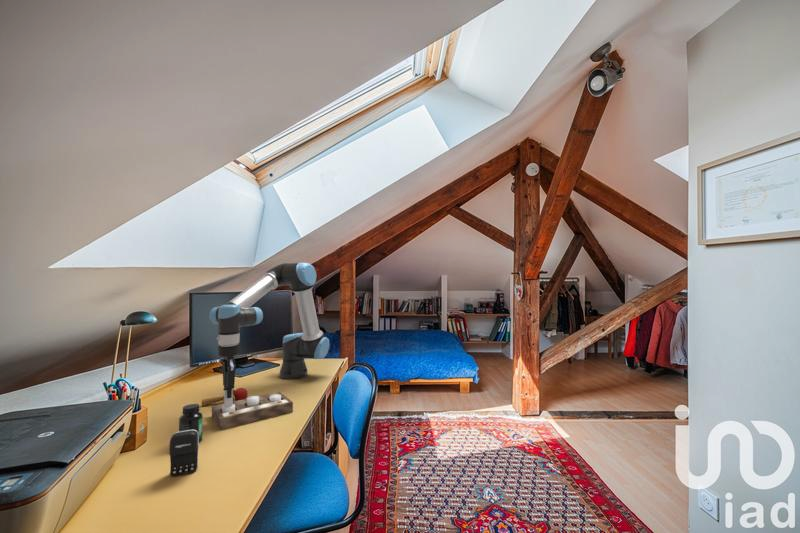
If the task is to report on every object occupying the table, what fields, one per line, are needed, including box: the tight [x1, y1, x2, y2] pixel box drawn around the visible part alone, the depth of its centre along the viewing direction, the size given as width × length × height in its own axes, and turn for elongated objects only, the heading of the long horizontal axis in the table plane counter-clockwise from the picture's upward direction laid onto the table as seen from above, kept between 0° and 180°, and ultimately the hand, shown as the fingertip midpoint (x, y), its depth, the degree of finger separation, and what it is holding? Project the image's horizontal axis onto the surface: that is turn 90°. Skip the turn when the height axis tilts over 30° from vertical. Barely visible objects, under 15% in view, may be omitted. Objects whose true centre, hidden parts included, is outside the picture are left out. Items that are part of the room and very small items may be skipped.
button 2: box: [270, 394, 281, 402], centre depth 146 cm, size 5×5×4 cm
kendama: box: [201, 387, 249, 407], centre depth 152 cm, size 8×6×18 cm
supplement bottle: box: [178, 403, 204, 443], centre depth 117 cm, size 7×7×12 cm
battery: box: [168, 429, 199, 477], centre depth 98 cm, size 7×4×11 cm, turn 114°
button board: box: [211, 391, 294, 431], centre depth 140 cm, size 27×16×4 cm, turn 128°
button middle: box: [246, 395, 260, 408], centre depth 140 cm, size 5×5×4 cm
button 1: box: [222, 404, 235, 413], centre depth 135 cm, size 5×5×4 cm
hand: (228, 405), depth 134 cm, fingers closed
